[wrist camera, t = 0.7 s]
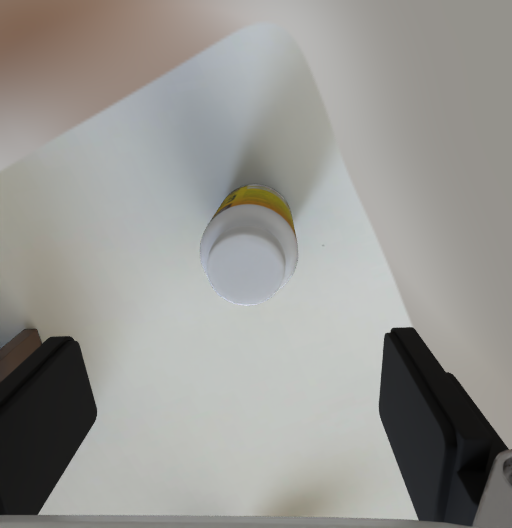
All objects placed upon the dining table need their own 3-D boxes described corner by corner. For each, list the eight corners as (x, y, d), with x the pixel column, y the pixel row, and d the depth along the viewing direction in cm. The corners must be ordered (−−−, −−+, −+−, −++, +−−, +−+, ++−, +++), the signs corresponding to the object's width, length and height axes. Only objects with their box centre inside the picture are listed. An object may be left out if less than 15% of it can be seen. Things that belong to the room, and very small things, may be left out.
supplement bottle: (236, 170, 26) (214, 195, 16) (304, 202, 26) (322, 245, 17) (207, 236, 28) (174, 295, 18) (272, 264, 28) (272, 335, 19)
